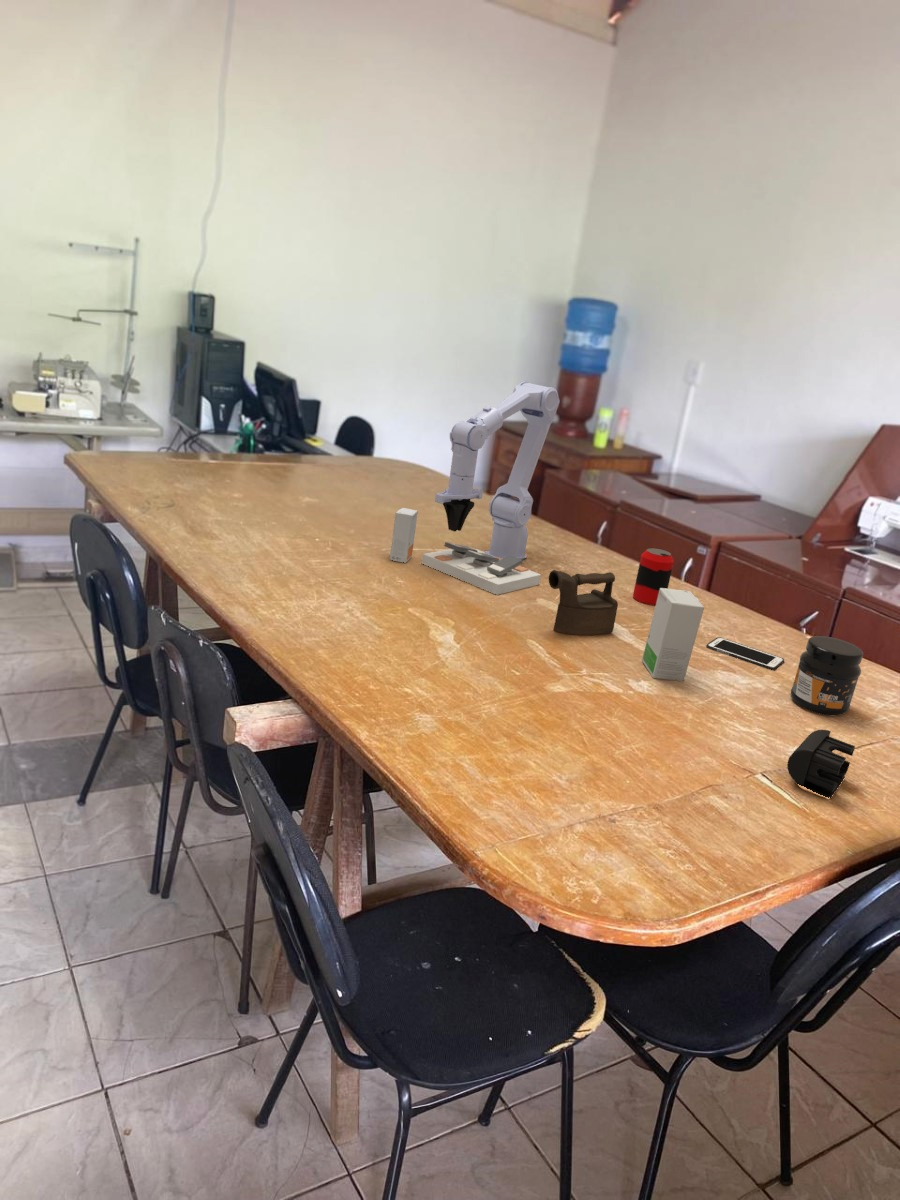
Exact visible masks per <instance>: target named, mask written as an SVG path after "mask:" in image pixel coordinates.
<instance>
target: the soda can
mask: <svg viewBox="0 0 900 1200" xmlns="http://www.w3.org/2000/svg"><path fill="white" fill-rule="evenodd" d="M674 563H675V560H674V557H673V556H672V553H671V552H669V551H668V550H664V549H660V548H652V547H651V548H647V549H645V551H644V552H642V553H641V556H640V561H639V564H638V565H639V566H638V569H637V574H636V580H635V584H634V589H633V592H632V597H633V598H634V600H635V599H636V601H637V602H639V603H641V604H645V605H649V606H656V602H657V598H658V594H659V590H660V588H666V589H669V584H670V580H671V576H672V575H671V574H672V572H673V566H674Z"/></svg>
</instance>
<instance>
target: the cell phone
mask: <svg viewBox="0 0 900 1200" xmlns="http://www.w3.org/2000/svg"><path fill="white" fill-rule="evenodd" d="M705 647H706V648H707V649H708V650H711V651H714V652H717V653H721V654H724V655H726V656H729V657H731V658H734V659H737V658H738V659H737V660H740V661H743V662H746V663H749V664H752V665H755V666H759V667H760V668H761V667H762V668H763V669H767V670H770V671H776V670H777V669H778V668H779V666H782V665H783V664H784V662H785V658H783V657H780V656H778V655H775V654H771V653H769V652H766V651H763V650H760V649H757V648H754V647H751V646H748V645H744V644H743V643H739V642H735V641H733V640H730V639H727V638H724V637H720V636H718V637H716V638H714V639H713V640H711V641H709V642H708V643H707V644H706V646H705Z"/></svg>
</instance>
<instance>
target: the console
mask: <svg viewBox="0 0 900 1200" xmlns="http://www.w3.org/2000/svg"><path fill="white" fill-rule="evenodd" d="M466 546H467V547H469V546H468V545H466ZM471 548H472V549H475V550H477V552H478V553H484V554H486V553H485V552H484V551H482V550H480V549H478V548H473V547H471ZM488 555H489V554H488ZM493 557H494V556H493ZM496 558H498V559H499V560H501V558H499V557H496ZM421 563H422V564H421V565H423V564H424V566H426V567H428V566H429V567H428V568H430V567H432V568H431V569H433V568H434V569H433V570H435V569H436V570H435V571H438V570H439V571H438V572H440V571H441V572H440V573H442V572H443V573H442V574H445V573H446V574H445V575H447V574H448V575H447V576H450V575H451V577H452V576H453V577H452V578H454V577H456V578H455V579H457V578H458V579H457V580H459V579H460V580H459V581H462V580H463V581H462V582H464V581H465V582H464V583H466V582H467V584H469V583H470V584H469V585H471V584H472V586H474V587H476V586H477V587H476V588H478V587H480V588H479V589H481V590H483V589H484V590H483V591H485V592H488V591H489V592H488V593H490V592H491V593H490V594H492V595H495V594H496V595H495V596H498V595H501V594H502V595H503V594H507V593H511V592H514V591H518V590H524V589H527V588H531V587H536V586H539V585H540V583H541V577H542V575H541V574H540V573H539V572H535V571H533V570H530V569H529V568H527V567H524V566H522V565H519V566H517V567H516V568H514V569H512V570H510V571H508V572H507V573H505V574H503V575H501V576H499V575H496V574H494V573H491V572H489V571H487V567H488V566H490V565H492V564H494V563H496V562H491V561H485V560H479V559H476V558H473V557H471V556H468V555H466V552H460V551H456V550H453V549H451V548H447V549H443V550H437V551H431V552H427V553H426V552H425V553H422V556H421Z"/></svg>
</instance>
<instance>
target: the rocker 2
mask: <svg viewBox="0 0 900 1200" xmlns="http://www.w3.org/2000/svg"><path fill="white" fill-rule="evenodd" d="M466 555H468V556H471V557H473V558H476V559H479V560H485V561H491V562H497V561H499V559H498V558H496V557H493V556H491V555H488V554H484V553H478V552H474V551H470V550H467V551H466Z"/></svg>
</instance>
